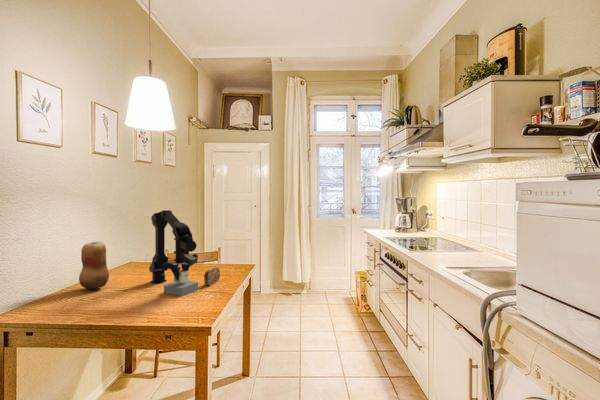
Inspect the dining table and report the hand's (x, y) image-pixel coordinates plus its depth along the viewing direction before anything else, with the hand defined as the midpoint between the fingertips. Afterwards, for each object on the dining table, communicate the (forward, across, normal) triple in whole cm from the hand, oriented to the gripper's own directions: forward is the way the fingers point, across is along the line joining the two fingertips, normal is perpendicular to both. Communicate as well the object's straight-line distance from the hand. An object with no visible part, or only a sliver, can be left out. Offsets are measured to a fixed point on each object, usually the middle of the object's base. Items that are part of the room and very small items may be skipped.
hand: (181, 278), depth 173 cm
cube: (+1, 0, 0) cm, 1 cm away
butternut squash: (+7, -16, +44) cm, 47 cm away
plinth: (+6, 0, 0) cm, 6 cm away
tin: (+7, +19, -5) cm, 21 cm away
